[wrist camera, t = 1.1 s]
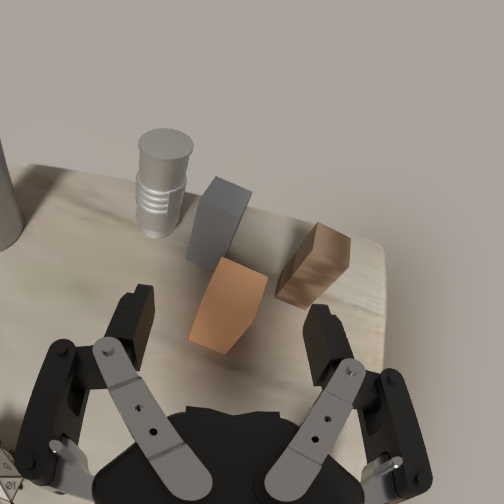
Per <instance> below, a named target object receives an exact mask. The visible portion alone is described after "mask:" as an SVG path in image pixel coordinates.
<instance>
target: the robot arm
mask: <svg viewBox="0 0 504 504" xmlns="http://www.w3.org/2000/svg"><path fill="white" fill-rule="evenodd" d="M23 226H24V217H23V214H22V211H21V208H20V205H19V203H18V200H17V196H16V194H15V190H14V187H13V184H12V181H11V178H10V174H9V171H8V167H7V164H6V160H5V156H4V152H3V148H2V144H1V139H0V251H2V250H4V249H6V248H8V247H9V246H10V245H12V244H13V243H14V242H15V241H16V240H17V238H18V237H19V235H20V234H21V232H22V229H23ZM154 314H155V304H154V289H153V286H151V285H144V284H138V285H137V287H136V290H135V292H134V293H128V292H127V293H126V294H125V295H124V296H123V297H122V298H121V299H120V301H119V303H118V305H117V308H116V310H115V312H114V314H113V317H112V319H111V321H110V324H109V326H108V328H107V331H106V333H105V336H104V337H103V338H101V339H99V340H97V341H96V342H95V344H94V345H92V346H82V347H75V345H74V343H73V342H72V341H70V340H67V339H59V340H57V341H55V342H53V343H52V344H51V346H50V348H49V350H48V352H47V355H46V357H45V360H44V362H43V365H42V367H41V370H40V372H39V375H38V378H37V380H36V383H35V386H34V389H33V391H32V394H31V397H30V400H29V403H28V407H27V410H26V413H25V416H24V420H23V423H22V427H21V430H20V434H19V438H18V442H17V446H16V450H15V455H14V464H15V467H16V470H17V471H18V473H19V474H20V475H21V476H23V477H24V478H26V479H28V480H29V481H31V482H32V483H34V484H35V485H37V486H39V487H41V488H43V489H46V490H48V491H51V492H54V493H56V494H59V495H63V494H69V495H72V496H75V497H78V498H81V499H84V500H88V501H91V502H94V503H95V504H398V503H400V502H403V501H405V500H408V499H410V498H413V497H415V496H418V495H420V494H422V493H424V492H426V491H427V490H428V489H429V488H430V487H431V485H432V480H433V476H432V472H431V468H430V463H429V459H428V456H427V452H426V448H425V445H424V441H423V438H422V434H421V430H420V427H419V424H418V420H417V417H416V414H415V411H414V408H413V405H412V402H411V399H410V396H409V393H408V390H407V387H406V384H405V381H404V378H403V376H402V375H401V374H400V373H399V372H398V371H397V370H395V369H392V368H387V369H385V370H383V371H382V372H381V374H379V373H375V372H371V371H367V370H365V368H364V366H363V364H362V363H360V362H359V361H358V360H355V359H354V356H353V353H352V350H351V348H350V345H349V342H348V339H347V337H346V334H345V331H344V328H343V325H342V323H341V321H340V320H339V319H338V318H337V316H336V315H331V313H330V310H329V307H328V305H324V304H312V305H311V308H310V310H309V313H308V315H307V318H306V320H305V323H304V326H303V338H304V343H305V347H306V352H307V356H308V361H309V366H310V370H311V375H312V380H313V385H314V386H321V387H322V391H321V393H320V394H319V396H318V398H317V399H316V401H315V402H314V404H313V405H312V407H311V408H310V410H309V412H308V413H307V415H306V416H305V418H304V419H303V420H302V422H301V423H300V424H299V426H298V425H296V424H294V423H293V422H291V421H289V420H286V419H283V418H280V413H279V412H260V411H257V412H252V413H246V414H241V415H229V414H226V413H222V412H219V411H216V410H213V409H209V408H199V407H191V406H186V412H180V413H175V414H172V415H170V416H168V417H166V416H165V414H164V412H163V411H162V409H161V408H160V406H159V405H158V403H157V402H156V400H155V398H154V397H153V395H152V393H151V392H150V390H149V389H148V387H147V385H146V383H145V382H144V380H143V379H142V377H139V376H138V374H137V372H136V371H140V368H141V364H142V360H143V356H144V352H145V349H146V345H147V341H148V338H149V334H150V331H151V327H152V324H153V320H154ZM92 389H108V391H109V393H110V395H111V397H112V399H113V401H114V403H115V405H116V407H117V409H118V411H119V413H120V415H121V417H122V419H123V420H124V422H125V424H126V426H127V428H128V430H129V432H130V433H131V435H132V437H133V439H134V440H135V443H133V444H132V445H131V446H130V447H129V448H127V449H126V450H125V451H124V452H122V453H121V454H120V455H119V456H117V457H116V458H115V459H114V460H112V461H111V462H110V463H108V464H107V465H106V466H105V467H103V468H102V469H101V470H100V471H99V472H98V473H97V474H96V475H95V477H94V476H92V475H91V473H90V472H89V469H88V461H87V457H86V455H85V453H84V452H83V451H82V450H81V449H80V448H79V447H78V442H79V437H80V432H81V427H82V422H83V417H84V413H85V408H86V404H87V400H88V396H89V392H90V390H92ZM352 409H357V412H358V417H359V422H360V427H361V432H362V437H363V442H364V448H365V453H366V459H367V465H366V466H365V467H364V468H363V470H362V474H361V482H359V481H358V480H357V479H356V478H355V477H354V476H352V475H351V474H350V473H349V472H348V471H347V470H346V469H344V468H343V467H342V466H341V465H340V464H339V463H338V462H337V461H335V460H334V459H333V458H332V457H331V456H330V455H329V454H328V453H329V451H330V450H331V448H332V446H333V445H334V443H335V441H336V439H337V437H338V436H339V434H340V432H341V430H342V428H343V426H344V424H345V422H346V420H347V418H348V417H349V415H350V413H351V411H352Z"/></svg>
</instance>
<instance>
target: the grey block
mask: <svg viewBox="0 0 504 504" xmlns="http://www.w3.org/2000/svg"><path fill="white" fill-rule="evenodd" d="M251 195H252V192H251V191H249V190H247V189H244V188H242V187H240V186H237V185H235V184H233V183H230V182H228V181H226V180H223V179H221V178H219V177H217V176H216V177H215V178H214V180H213V181H212V183H211V184H210V185H209V187H208V188H207V190H206V191H205V193H204V194H203V196H202V197H201V199H200V200H199V204H198V209H197V213H196V217H195V221H194V225H193V230H192V234H191V239H190V243H189V248H188V252H187V257H186V259H187V260H189V261H192V262H194V263H196V264H198V265H200V266H203V267H205V268H207V269H209V270H212V271H214V272H215V270H216V268H217V266H218V263H219V261H220V259H221V257H224V258H225V256H226V254H227V252H228V249H229V247H230V245H231V242H232V240H233V237H234V235H235V233H236V230H237V228H238V226H239V223H240V221H241V218H242V216H243V214H244V211H245V209H246V207H247V204H248V202H249V199H250V197H251Z"/></svg>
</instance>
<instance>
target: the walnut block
mask: <svg viewBox="0 0 504 504" xmlns="http://www.w3.org/2000/svg"><path fill="white" fill-rule="evenodd" d="M350 243H351V238H349V237H347V236H345V235H343V234H341V233H339V232H337V231H335V230H333V229H331V228H329V227H327V226H325V225H323V224H321V223H319V222H317V224H316V225H315V226H314V228H313V229H312V231H311V232H310V233H309V235H308V236H307V238H306V239H305V241H304V242H303V243H302V245H301V246H300V248H299V249H298V250H297V252H296V253H295V254H294V256H293V257H292V259H291V260H290V261H289V263H288V264H287V266H286V267H285V268H284V270H283V271H282V274H281V277H280V281H279V284H278V288H277V291H276V295H275V298H277V299H280V300H282V301H284V302H287V303H289V304H292V305H294V306H296V307H299V308H301V309H304V310H305V309H306V308H307V307H309V306H310V305H311V304H312V303H313V302H314V301H315V300H316V299H317V298H318V297H319V296H320V295H321V294H322V293H323V292H324V291H325V290H326V289H327V288H328V287H329V286H330V285H331V284H332V283H333V282H334V281H335V280H336V279H337V278H339V277H340V276H341V275H342V274H343V273H344V271H345V270H346V269H347V268H348V267H349V260H350Z"/></svg>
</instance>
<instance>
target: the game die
mask: <svg viewBox="0 0 504 504" xmlns="http://www.w3.org/2000/svg"><path fill="white" fill-rule="evenodd" d="M0 444H1V441H0ZM13 454H14V451H12V450H11V451H10V453H9V452H8V451H6V450H5V449H4V448H3V447H1V446H0V498H1V499H3V500H6V501H8V502H10V503H11V504H14V503H13V502H12V501H13V499H14V497H15V495H16V493H17V491H18V489H19V490H21V489H22V488H21V486H20V485H21V483H22V481H23V479H24V477H23V476H21V475H20V474H19V473H18V471H17V470H16V467H15V464H14V459H13V457H12V455H13ZM25 479H26V478H25Z"/></svg>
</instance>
